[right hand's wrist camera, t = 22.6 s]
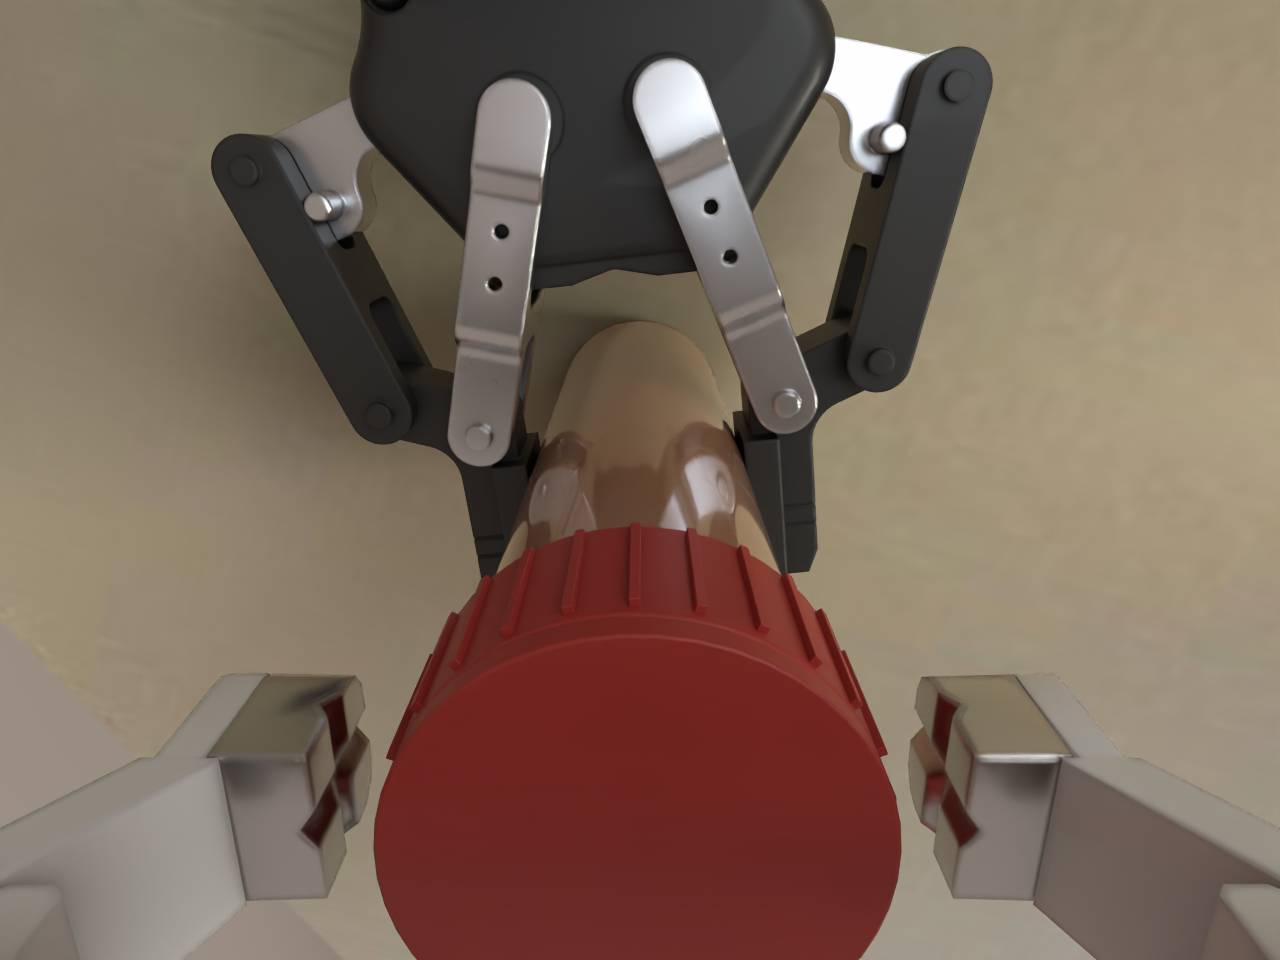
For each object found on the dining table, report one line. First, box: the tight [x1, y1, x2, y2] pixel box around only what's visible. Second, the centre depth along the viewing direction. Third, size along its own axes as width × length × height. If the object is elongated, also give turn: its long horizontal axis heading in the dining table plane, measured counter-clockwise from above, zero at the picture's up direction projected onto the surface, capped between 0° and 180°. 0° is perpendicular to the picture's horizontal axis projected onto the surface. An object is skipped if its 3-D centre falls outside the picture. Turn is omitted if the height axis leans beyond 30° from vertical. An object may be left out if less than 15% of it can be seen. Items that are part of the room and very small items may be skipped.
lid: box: [374, 523, 901, 960], centre depth 9 cm, size 5×5×2 cm
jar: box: [496, 321, 782, 575], centre depth 17 cm, size 4×4×17 cm
